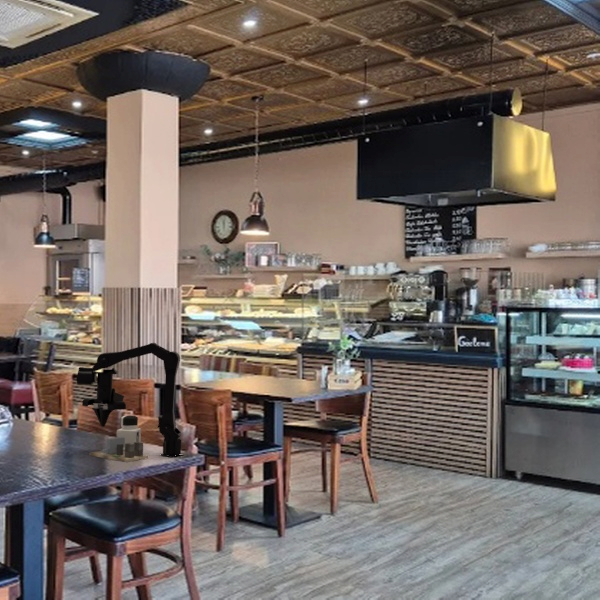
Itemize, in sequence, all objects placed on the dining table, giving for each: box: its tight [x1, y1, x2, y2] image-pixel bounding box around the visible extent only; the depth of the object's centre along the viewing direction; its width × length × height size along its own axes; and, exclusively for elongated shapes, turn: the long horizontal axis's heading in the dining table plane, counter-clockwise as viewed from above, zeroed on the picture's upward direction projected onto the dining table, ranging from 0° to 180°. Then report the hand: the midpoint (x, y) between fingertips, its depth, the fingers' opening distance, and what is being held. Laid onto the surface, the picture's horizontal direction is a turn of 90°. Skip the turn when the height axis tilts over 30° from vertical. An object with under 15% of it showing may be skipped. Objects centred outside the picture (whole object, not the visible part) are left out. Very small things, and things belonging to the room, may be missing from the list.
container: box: [116, 414, 142, 448], centre depth 319 cm, size 8×8×13 cm
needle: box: [117, 444, 123, 456], centre depth 292 cm, size 2×2×4 cm
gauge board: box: [89, 442, 149, 463], centre depth 299 cm, size 20×11×6 cm, turn 55°
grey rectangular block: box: [101, 437, 125, 454], centre depth 298 cm, size 8×9×6 cm
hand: (103, 426), depth 304 cm, fingers closed
